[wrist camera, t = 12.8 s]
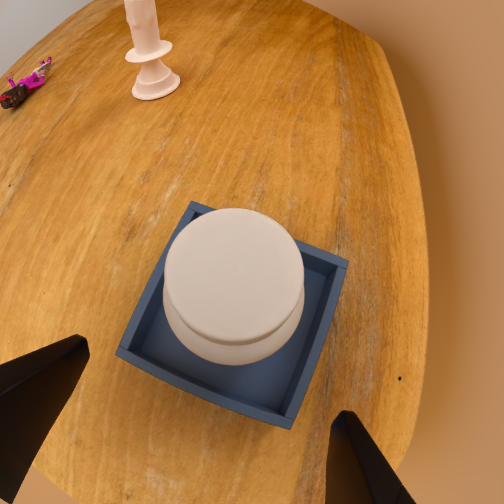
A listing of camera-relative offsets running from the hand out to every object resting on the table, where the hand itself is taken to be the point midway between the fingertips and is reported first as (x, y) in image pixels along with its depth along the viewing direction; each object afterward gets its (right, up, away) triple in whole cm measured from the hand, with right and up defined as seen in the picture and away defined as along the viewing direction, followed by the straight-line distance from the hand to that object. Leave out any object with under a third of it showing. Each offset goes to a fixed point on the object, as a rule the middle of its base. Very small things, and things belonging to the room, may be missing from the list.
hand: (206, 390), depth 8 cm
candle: (-9, +22, +17) cm, 29 cm away
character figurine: (-31, +28, +19) cm, 46 cm away
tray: (0, 0, +9) cm, 9 cm away
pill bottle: (0, 0, +9) cm, 9 cm away
